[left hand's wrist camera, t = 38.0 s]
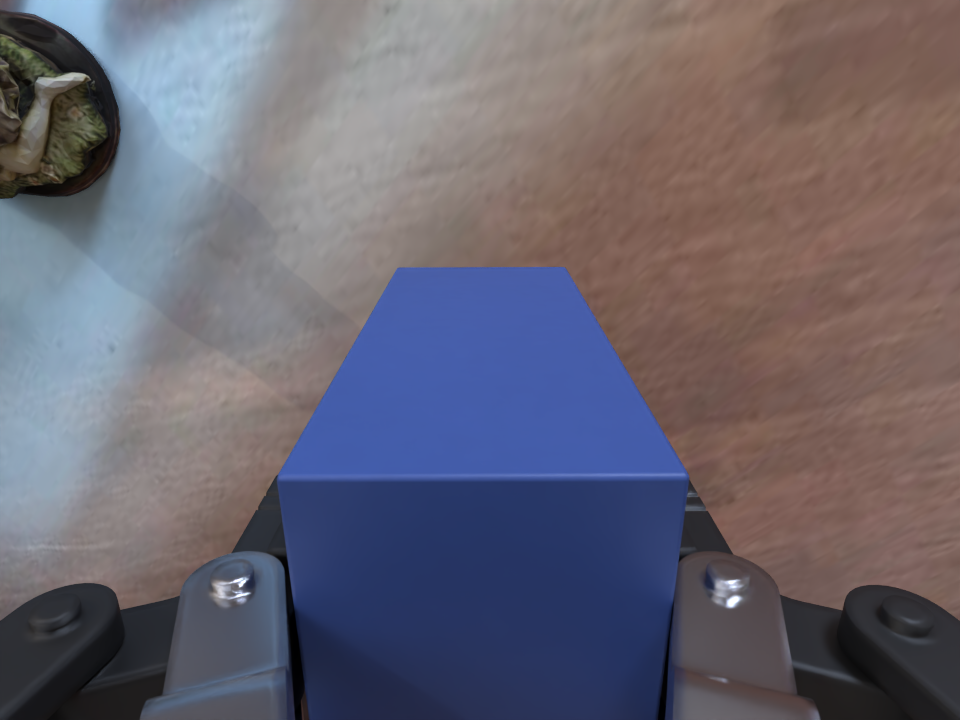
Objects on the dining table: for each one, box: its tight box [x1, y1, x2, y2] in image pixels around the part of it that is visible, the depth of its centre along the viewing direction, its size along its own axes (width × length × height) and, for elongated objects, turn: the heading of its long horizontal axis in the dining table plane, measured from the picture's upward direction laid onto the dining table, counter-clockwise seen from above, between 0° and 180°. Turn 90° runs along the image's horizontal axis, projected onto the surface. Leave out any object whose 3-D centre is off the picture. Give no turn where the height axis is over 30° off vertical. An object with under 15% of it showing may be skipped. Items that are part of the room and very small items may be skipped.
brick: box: [277, 267, 689, 720], centre depth 13 cm, size 4×6×11 cm
